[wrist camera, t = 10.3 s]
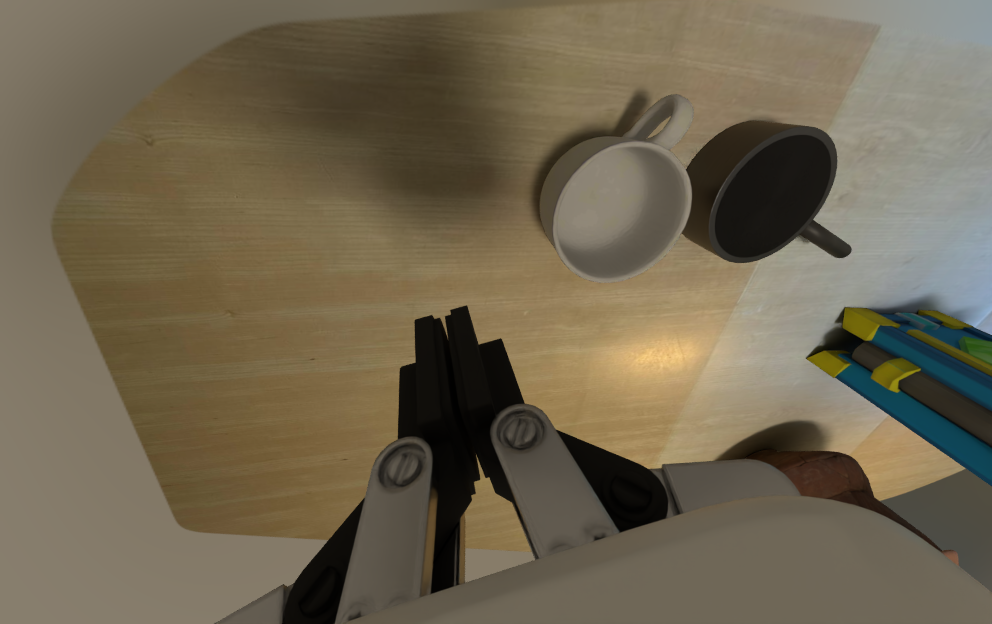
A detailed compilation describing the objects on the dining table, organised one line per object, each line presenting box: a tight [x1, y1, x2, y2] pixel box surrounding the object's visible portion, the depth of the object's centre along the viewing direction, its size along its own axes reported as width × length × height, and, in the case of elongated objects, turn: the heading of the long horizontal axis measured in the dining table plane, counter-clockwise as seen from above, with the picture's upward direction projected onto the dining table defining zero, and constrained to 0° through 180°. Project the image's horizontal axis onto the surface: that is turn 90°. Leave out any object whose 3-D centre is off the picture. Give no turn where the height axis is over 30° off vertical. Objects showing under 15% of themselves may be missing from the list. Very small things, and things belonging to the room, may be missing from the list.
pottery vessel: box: [745, 449, 959, 566], centre depth 58 cm, size 26×26×30 cm
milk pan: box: [682, 121, 852, 263], centre depth 35 cm, size 12×21×5 cm, turn 64°
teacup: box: [540, 94, 694, 283], centre depth 29 cm, size 14×11×8 cm
